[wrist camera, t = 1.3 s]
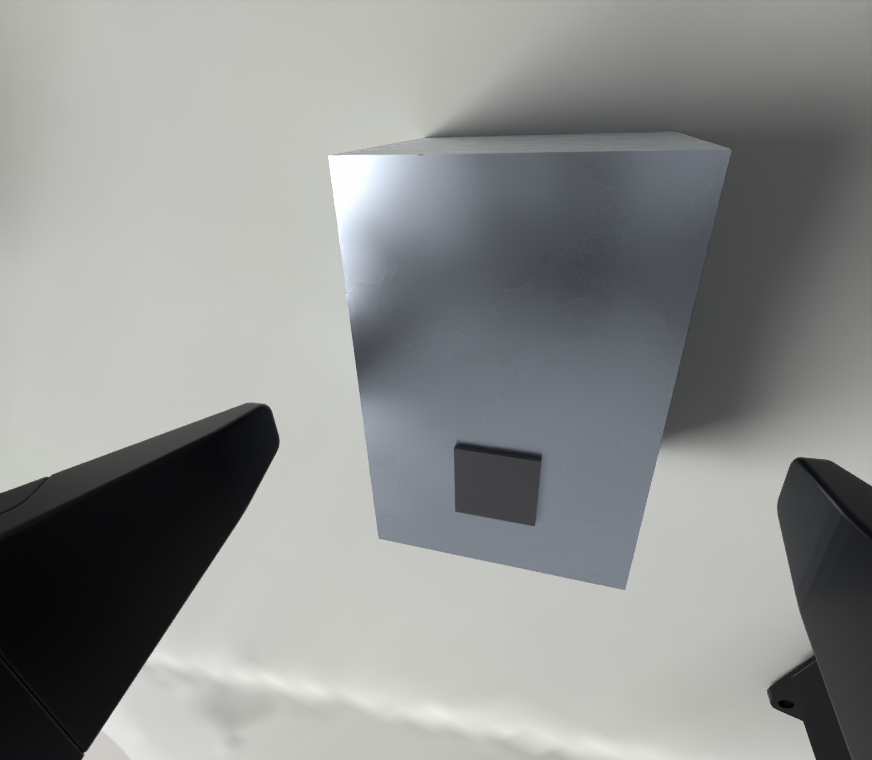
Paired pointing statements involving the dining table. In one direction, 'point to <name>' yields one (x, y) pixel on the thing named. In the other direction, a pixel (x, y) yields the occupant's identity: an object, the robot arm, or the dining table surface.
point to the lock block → (522, 334)
